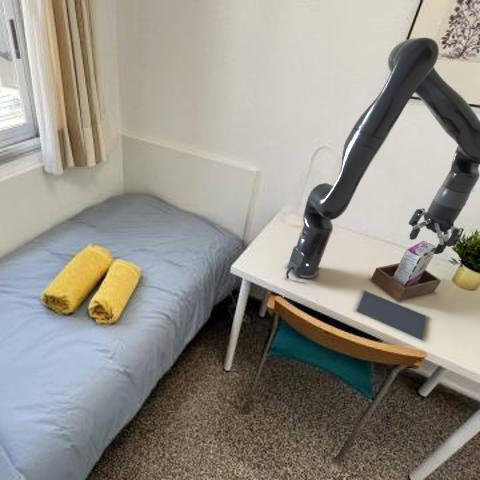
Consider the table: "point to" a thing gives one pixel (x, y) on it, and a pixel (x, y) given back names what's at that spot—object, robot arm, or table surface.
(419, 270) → the candy bar box
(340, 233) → the table surface
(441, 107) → the robot arm
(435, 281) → the desk box
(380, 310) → the desk mat
